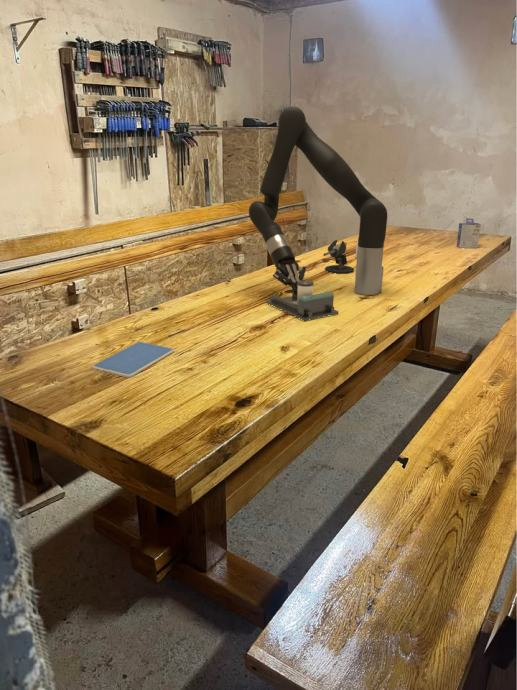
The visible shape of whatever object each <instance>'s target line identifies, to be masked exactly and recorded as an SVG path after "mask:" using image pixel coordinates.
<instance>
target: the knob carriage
mask: <svg viewBox="0 0 517 690" xmlns="http://www.w3.org/2000/svg"><path fill="white" fill-rule="evenodd" d="M297 285H298V291H297V301H295V302H292V303H294V304H297V305H298V297H302V296H308V295H313V292H314V291H313V289H314V281H313V280H310V279H303V280H299V281H297Z"/></svg>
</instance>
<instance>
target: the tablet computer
mask: <svg viewBox="0 0 517 690" xmlns="http://www.w3.org/2000/svg"><path fill="white" fill-rule="evenodd" d="M174 352H175V349H174V348H171V347H168V346H167V347H166V346H161V345H157V344H152V343H147V342H142V341H137V342H135V343H134V344H132V345H130V346H128V347H126V348H125V349H122V350H120V351H118V352H116V353H115V354H114V353H113V355H110V356H109V357H107V358H105V359H103V360H101V361H99V362H97V363H95V364H93V365H92V367H91V369H92V370H95V371H99V372H104V373H107V374H111V375H115V376H118V377H119V376H120V377H123V378H127V379H130V378H133V377H134V376H136V375H137V374H139V373H141V372H142V371H144V370H145V369H147V368H149V367H151V366H152V365H154V364H156V363H157V362H159V361H161V360H163V359H164V358H166V357H167V356H169V355H171V354H172V353H174Z"/></svg>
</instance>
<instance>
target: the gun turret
mask: <svg viewBox="0 0 517 690" xmlns="http://www.w3.org/2000/svg"><path fill="white" fill-rule="evenodd" d="M337 242H338V239H335V240H334V241H332V243H331V244H329V245H328V246H327V252H325V253H323V255H322V256H324V257H326V256H328V255H330V257H331V258H334V261H335V265H334V264H330V265H327V266H325V267H324V271H325V270H326V271H325V272H327V271H328V272H327V273H329V272H332V273H331V274H334V273H336V274H335V275H348V274H353V273H354V272H355V268H354V267H352V266H350V265H347V264H348V259H347V255H346V254H345V253H346V250H347V244H348V243H347V242H344V240H341V242H340V243H338V244H337Z"/></svg>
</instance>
